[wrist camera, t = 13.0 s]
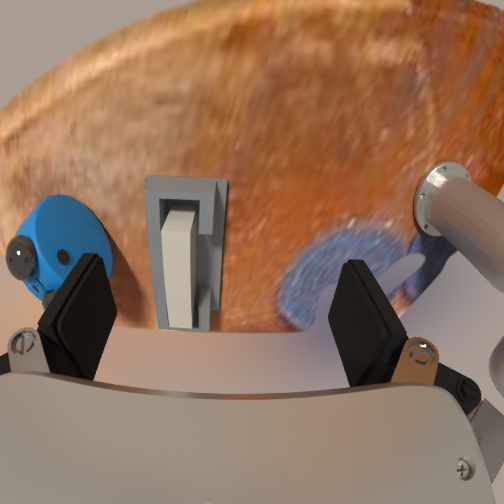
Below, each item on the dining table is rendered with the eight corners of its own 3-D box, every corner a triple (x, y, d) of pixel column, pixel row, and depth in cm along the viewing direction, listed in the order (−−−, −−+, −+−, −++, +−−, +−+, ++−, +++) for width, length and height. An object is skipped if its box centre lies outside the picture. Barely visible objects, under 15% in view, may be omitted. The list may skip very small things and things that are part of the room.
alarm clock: (46, 202, 33) (-14, 259, 20) (71, 177, 32) (5, 231, 19) (99, 267, 39) (61, 340, 27) (126, 249, 38) (89, 325, 25)
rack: (227, 178, 34) (227, 194, 29) (218, 306, 45) (218, 332, 40) (146, 175, 33) (133, 190, 28) (156, 302, 44) (150, 327, 39)
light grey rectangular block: (196, 205, 34) (190, 232, 29) (196, 294, 42) (192, 328, 36) (172, 204, 34) (161, 230, 28) (176, 292, 41) (169, 326, 36)
